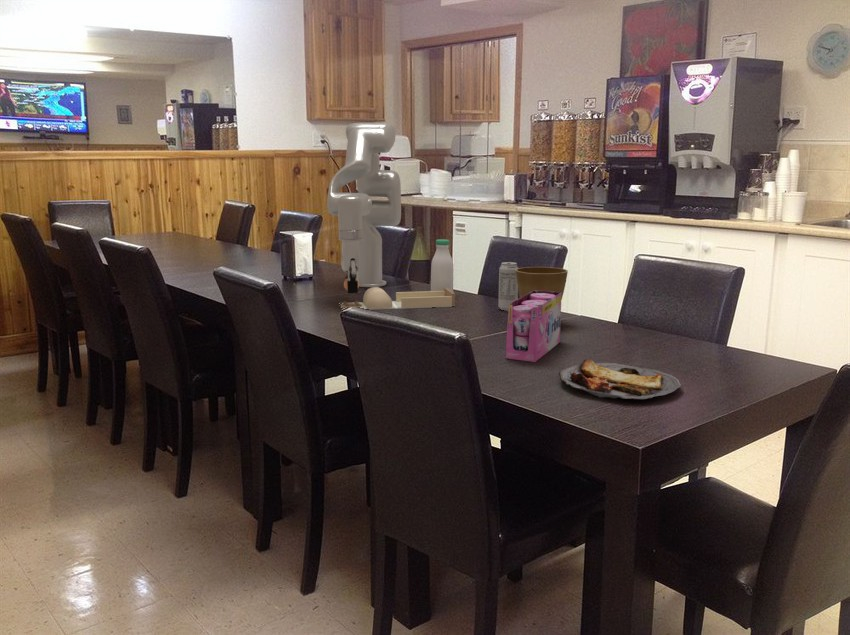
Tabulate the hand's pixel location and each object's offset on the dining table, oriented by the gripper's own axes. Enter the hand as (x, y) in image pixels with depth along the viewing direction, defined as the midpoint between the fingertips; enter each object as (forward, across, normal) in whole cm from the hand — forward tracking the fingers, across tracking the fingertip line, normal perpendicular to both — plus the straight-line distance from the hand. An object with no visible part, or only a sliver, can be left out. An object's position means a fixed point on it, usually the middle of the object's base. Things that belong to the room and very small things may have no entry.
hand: (351, 290), depth 248 cm
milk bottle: (+6, -10, +32) cm, 34 cm away
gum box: (+4, +64, +39) cm, 75 cm away
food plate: (+3, +97, +46) cm, 107 cm away
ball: (-2, 0, 0) cm, 2 cm away
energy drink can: (+5, +14, +48) cm, 51 cm away
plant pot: (+5, +35, +51) cm, 62 cm away
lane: (+8, +1, +14) cm, 16 cm away
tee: (+5, +1, 0) cm, 5 cm away
